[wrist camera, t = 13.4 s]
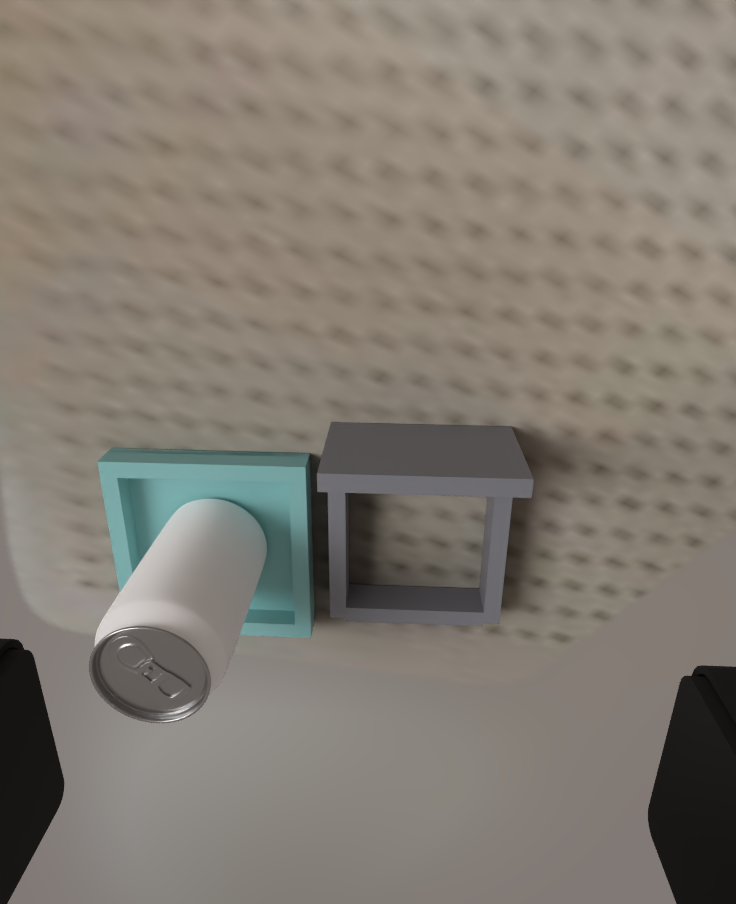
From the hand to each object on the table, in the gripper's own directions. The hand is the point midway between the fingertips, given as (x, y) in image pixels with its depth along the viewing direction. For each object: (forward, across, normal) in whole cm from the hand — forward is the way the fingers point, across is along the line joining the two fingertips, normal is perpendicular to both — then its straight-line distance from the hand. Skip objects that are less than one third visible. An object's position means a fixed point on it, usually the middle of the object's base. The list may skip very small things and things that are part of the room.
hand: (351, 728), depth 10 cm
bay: (+28, -2, +13) cm, 31 cm away
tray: (+28, +10, +14) cm, 33 cm away
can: (+28, +10, +14) cm, 33 cm away
